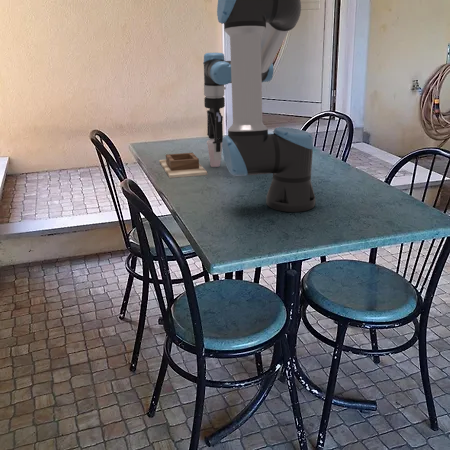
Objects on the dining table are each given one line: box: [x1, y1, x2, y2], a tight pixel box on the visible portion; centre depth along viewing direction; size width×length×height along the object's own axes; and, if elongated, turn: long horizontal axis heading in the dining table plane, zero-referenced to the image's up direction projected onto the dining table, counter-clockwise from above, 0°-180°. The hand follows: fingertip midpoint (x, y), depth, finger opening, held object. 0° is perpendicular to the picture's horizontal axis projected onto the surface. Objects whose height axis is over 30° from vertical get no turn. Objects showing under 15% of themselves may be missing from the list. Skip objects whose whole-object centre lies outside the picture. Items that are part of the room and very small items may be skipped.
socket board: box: [159, 152, 208, 179], centre depth 201 cm, size 22×14×4 cm, turn 16°
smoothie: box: [206, 139, 223, 168], centre depth 202 cm, size 6×6×14 cm
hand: (215, 157), depth 204 cm, fingers closed on smoothie, 6 cm apart
